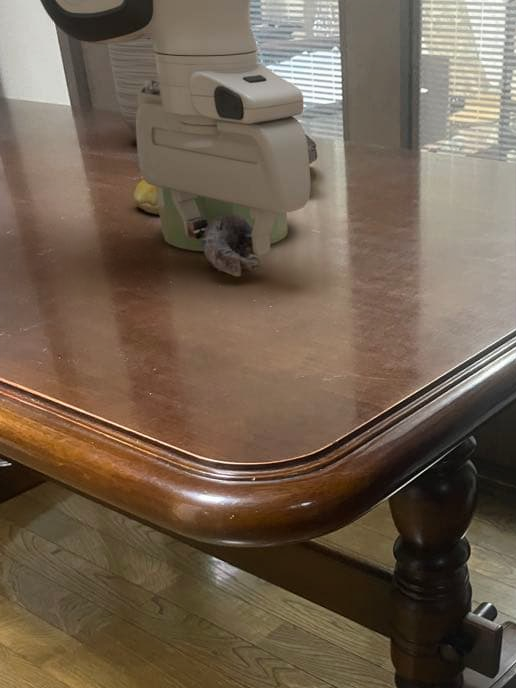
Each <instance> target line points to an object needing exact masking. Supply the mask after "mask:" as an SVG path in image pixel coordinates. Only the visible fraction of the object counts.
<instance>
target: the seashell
mask: <svg viewBox="0 0 516 688" xmlns="http://www.w3.org/2000/svg"><path fill="white" fill-rule="evenodd" d="M252 230H253V228H252V227H250V225H249V224H248V222H247V221H245V219H244V218H242V217H240V216H238V215H234V214H227V215H222V216H218V217H216V218H214V219H213V220H212V221H211V222H210V223H209V224H207V226H206V228H205V231H204V235H203V241H202V247H203V249H204V251H203V252H204V255H205V257H206V259H207V260H208V263H210V264H211V265H212V266H213V268H214V269H215V268H216V270H218V271H219V272H225V273H226V274H228V275H232V276H234V277H241V276H242V271H243V269H244V270H247V271H248V272H252V271H254V270H256V269H257V268H259V267H260V266H261V260H260V258H257V257H254V256H252V257H249V256H250V255H251V253H248V252H247V250H246V246H247V244H246V240H245V235H248V234H252Z"/></svg>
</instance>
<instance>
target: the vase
mask: <svg viewBox="0 0 516 688" xmlns="http://www.w3.org/2000/svg"><path fill="white" fill-rule="evenodd" d="M107 48H108V53H109V59H110V65H111V71H112V76H113V82H114V87H115V93H116V98H117V102H118V107H119V111H120V113H121V117H122V120H123V121H124V123H125V124H126V126H127V127H128V129H130V130H131V131H132V132H133V133H135V134H136V114H137V110H138V108H139V106H138V93H139V92H140V90H141V88H142V86H144V83H145V82H146V81H148V80H155V81H158V82H159V80H158V73H157V66H156V59H155V51H154V46H153V43H152V41H151V39H141V40H136V41H130V42H119V43H113V44H107ZM145 92H147V91H146V90H145Z"/></svg>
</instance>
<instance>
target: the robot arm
mask: <svg viewBox="0 0 516 688" xmlns="http://www.w3.org/2000/svg"><path fill="white" fill-rule="evenodd" d="M40 3H41V5H42V7H43V9H44V10H45V13H46V14H47V15H48V17H49V18H50V20H51V21H52V22H53V23H54V24H55V26H56V27H58V28H59V29H60V30H61V31H62V32H63V33H65V34H66V35H68V36H69V37H70V38H73V39H75V40H77V41H81V42H85V43H90V44H95V45H108V44H113V43H119V42H130V41H136V40H141V39H151V41H152V43H153V46H154V51H155V59H156V66H157V73H158V80H159V82H158V81H155V80H148V81H146V82H145V83H144V86H142V88H141V90H140V92H139V93H138V106H139V108H138V110H137V114H136V133H135V137H136V138H135V139H136V151H137V152H136V153H137V161H138V162H137V163H138V168H139V172H140V174H141V176H142V178H143V179H144V180H145V181H146V183H148V184H150V185H155V186H159V187H163V188H168V189H171V195H172V201H173V203H174V204H175V206H176V208H177V210H178V212H179V214H180V216H181V218H182V219H183V222H184V229H185V234H186V236H187V237H190V238H195V239H200V238H203V235H204V231H205V228H206V226H207V219H206V218H203V217H201V215H200V212H199V210H198V207H197V205H196V202H195V200H194V199H195V198H197V195H198V196H203V197H207V198H211V199H216V200H220V201H224V202H229V203H233V204H238V205H242V206H246V207H249V208H250V217H251V219H255V223H254V226H253V230H252V234H248V235H245V240H246V244H247V246H246V250H247V252H248V253H250V255H254V256H259V257H261V256H266V255H268V254H269V253H270V252H271V244H270V238H269V234H270V233H271V230H272V228H273V226H274V223H275V221H276V218H277V214H284V213H286V214H288V213H292V212H295V211H298V210H301V209H304V208H305V206H306V205H307V203H308V201H309V199H310V197H311V187H312V186H311V169H310V168H311V167H310V165H309V156H308V146H307V140H306V135H307V134H306V132H305V130H304V127H303V125H302V123H301V122H300V121H299V119H297V118H296V117H295V116H299V115H301V114H303V111H304V105H305V104H304V96H303V95H304V94H303V91H302V90H301V89H300V88H299V87H297V86H296V85H294V84H293V83H291V82H289V81H287V80H286V79H284V78H282V76H279V75H278V74H276V73H275V72H273V71H272V70H270V69H269V68H268V67H266V66H265V65H263V64H262V63H259V58H258V57H259V56H258V46H257V41H256V38H255V35H254V32H253V29H252V25H251V3H252V0H40ZM145 90H146V91H147V92H145ZM305 134H306V135H305Z"/></svg>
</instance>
